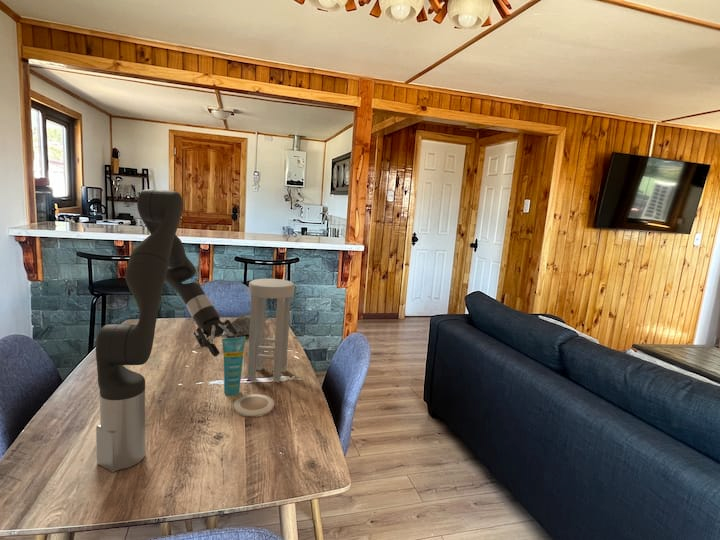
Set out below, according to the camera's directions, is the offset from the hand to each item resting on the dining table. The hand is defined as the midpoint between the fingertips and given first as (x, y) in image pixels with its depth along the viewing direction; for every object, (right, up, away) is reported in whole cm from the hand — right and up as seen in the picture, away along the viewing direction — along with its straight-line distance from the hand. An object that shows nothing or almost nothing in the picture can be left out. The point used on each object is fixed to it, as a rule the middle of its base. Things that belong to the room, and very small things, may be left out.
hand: (227, 351), depth 135 cm
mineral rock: (-13, -4, +58) cm, 60 cm away
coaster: (+11, -16, -7) cm, 20 cm away
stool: (+10, -12, +17) cm, 23 cm away
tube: (+1, -14, +1) cm, 14 cm away
